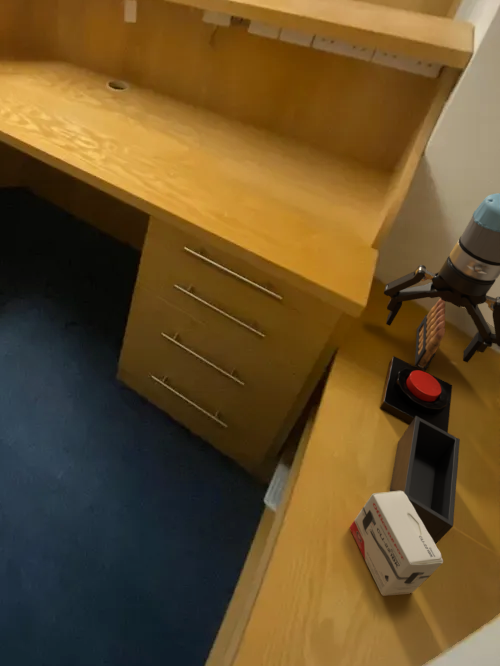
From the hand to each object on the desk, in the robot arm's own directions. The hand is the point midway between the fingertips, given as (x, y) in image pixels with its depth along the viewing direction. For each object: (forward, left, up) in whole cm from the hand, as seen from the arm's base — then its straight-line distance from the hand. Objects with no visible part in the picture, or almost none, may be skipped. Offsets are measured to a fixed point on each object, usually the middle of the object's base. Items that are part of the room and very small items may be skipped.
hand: (425, 338), depth 105 cm
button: (+4, +13, 0) cm, 14 cm away
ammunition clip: (0, 0, -4) cm, 4 cm away
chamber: (+8, +31, -3) cm, 32 cm away
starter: (+4, +13, -3) cm, 14 cm away
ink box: (+15, +43, -4) cm, 46 cm away
